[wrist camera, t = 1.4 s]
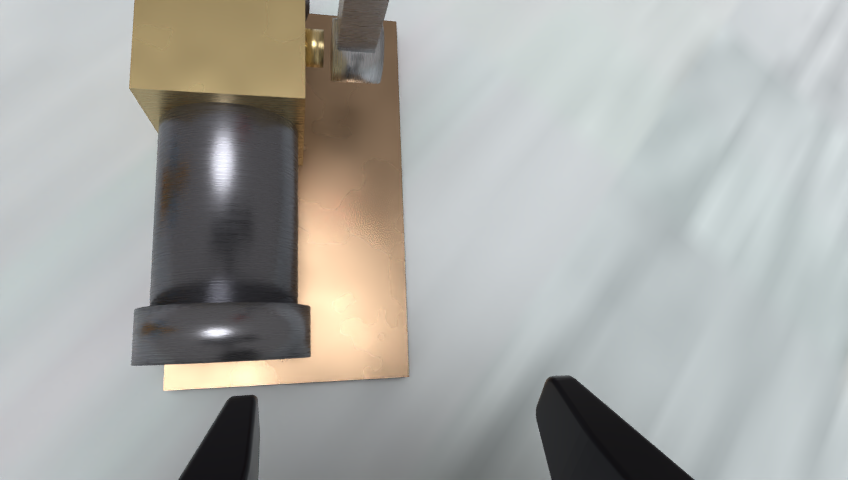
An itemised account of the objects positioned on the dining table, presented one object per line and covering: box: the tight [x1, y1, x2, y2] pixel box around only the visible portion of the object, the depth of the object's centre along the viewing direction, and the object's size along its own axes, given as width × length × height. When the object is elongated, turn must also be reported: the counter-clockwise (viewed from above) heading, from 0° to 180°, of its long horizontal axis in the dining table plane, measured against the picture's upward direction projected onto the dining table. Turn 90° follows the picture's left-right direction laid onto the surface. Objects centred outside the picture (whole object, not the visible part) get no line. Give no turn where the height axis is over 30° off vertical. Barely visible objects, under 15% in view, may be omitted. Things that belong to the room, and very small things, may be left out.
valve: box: [129, 0, 409, 391], centre depth 20 cm, size 16×9×7 cm, turn 2°
